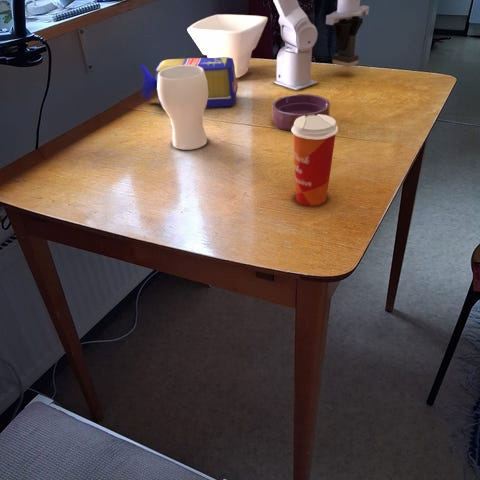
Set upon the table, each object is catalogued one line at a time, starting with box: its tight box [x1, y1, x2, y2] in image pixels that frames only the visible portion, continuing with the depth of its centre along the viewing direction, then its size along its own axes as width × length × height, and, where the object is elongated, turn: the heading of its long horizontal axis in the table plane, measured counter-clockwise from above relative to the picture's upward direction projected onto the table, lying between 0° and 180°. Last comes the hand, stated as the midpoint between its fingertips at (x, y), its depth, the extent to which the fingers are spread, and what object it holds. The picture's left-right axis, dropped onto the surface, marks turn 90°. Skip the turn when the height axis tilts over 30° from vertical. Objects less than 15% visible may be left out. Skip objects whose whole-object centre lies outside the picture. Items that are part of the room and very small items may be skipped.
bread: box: [139, 57, 239, 110], centre depth 125 cm, size 10×25×10 cm, turn 85°
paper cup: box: [290, 114, 339, 207], centre depth 84 cm, size 8×8×14 cm
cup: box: [156, 65, 208, 151], centre depth 104 cm, size 11×11×15 cm
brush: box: [332, 34, 360, 68], centre depth 133 cm, size 6×4×7 cm, turn 38°
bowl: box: [187, 13, 269, 79], centre depth 138 cm, size 19×19×14 cm
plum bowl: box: [271, 93, 331, 132], centre depth 114 cm, size 13×13×4 cm
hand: (344, 49), depth 134 cm, fingers closed on brush, 2 cm apart
